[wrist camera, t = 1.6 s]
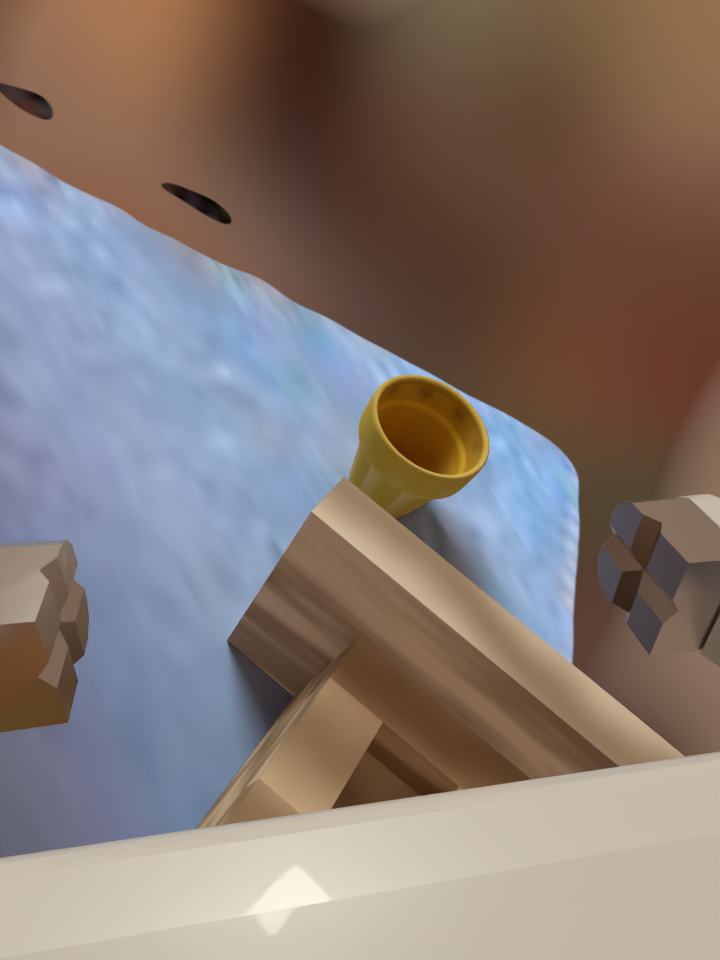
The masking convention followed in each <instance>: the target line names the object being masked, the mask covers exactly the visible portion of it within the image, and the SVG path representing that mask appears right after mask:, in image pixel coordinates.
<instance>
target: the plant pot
mask: <svg viewBox="0 0 720 960" xmlns="http://www.w3.org/2000/svg"><path fill="white" fill-rule="evenodd" d="M358 432H359V441H360V442H359V446H358V449H357V452H356V456H355V459H354V462H353V465H352V469H351V472H350V482H351V483H352V484H353V485H355V486H356V487H357V488H358V489H360V490H361V491H362V492H363V493H364V494H366V495H367V496H368V497H369V498H371V499H372V500H373V501H374V502H375V503H377V504H378V505H379V506H380V507H381V508H383V509H384V510H385V511H386V512H388V513H389V514H390V515H391V516H392V517H394V518H398V517H402V516H405V515H407V514H408V513H410V512H412V511H413V510H415V509H417V508H419V507H420V506H422V505H424V504H426V503H428V502H429V501H431V500H433V499H442V498H446V497H449V496H451V495H453V494H455V493H457V492H458V491H459V490H461V489H462V488H463V487H464V486H465V485H466V484H467V483H468V482H470V481H471V480H472V479H473V478H474V477H475V476H476V474H477V473H478V472H479V471H480V470H481V469H482V468H483V466H484V465H485V463H486V461H487V458H488V454H489V438H488V434H487V430H486V428H485V425H484V423H483V421H482V419H481V417H480V416H479V414H478V413H477V411H476V410H475V409H474V407H473V406H472V405H471V404H470V403H469V402H468V401H467V400H466V399H465V398H464V397H463V396H462V395H461V394H459V393H458V392H457V391H455V390H454V389H453V388H451V387H449V386H448V385H446V384H444V383H442V382H440V381H437V380H435V379H432V378H429V377H425V376H420V375H401V376H397V377H394V378H391V379H389V380H388V381H386V382H384V383H383V384H382V385H381V386H380V387H379V388H378V389H377V390H376V392H375V393H374V395H373V396H372V398H371V400H370V401H369V403H368V405H367V406H366V408H365V410H364V412H363V414H362V416H361V419H360V422H359V430H358Z"/></svg>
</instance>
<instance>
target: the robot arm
mask: <svg viewBox="0 0 720 960" xmlns="http://www.w3.org/2000/svg"><path fill="white" fill-rule="evenodd" d="M609 524H610V526H611V528H612V530H613V532H614V535H613V536H612V537H611V538H610V539H609V540H608V541H606V542H605V543H604V544H603V545H602V548H601V551H600V555H599V559H598V573H599V574H598V575H599V581H600V583H601V586H602V588H603V591H604V592H605V594H606V595H607V597H608V598H609V600H610V601H611V603H613V604H615V605H616V606H618V607H620V608H622V609H623V610H625V611H627V612H628V615H627V622H626V623H627V625H628V626H629V628H630V629H631V630H632V632H633V633H634V635H635V636H636V637H637V639H638V640H639V641H640V643H641V644H642V646H643V647H644V648H645V650H646V651H647V652H648V654H649V655H660V654H672V653H684V652H695V651H701V653H700V654H701V655H703V656H704V657H706V658H707V659H709V660H710V661H712V662H713V663H714V664H716V665H717V666H719V667H720V498H718V497H715V496H712V495H709V494H704V495H693V496H684V497H678V498H672V499H658V500H646V501H631V502H621V503H620V504H619V505H618V506H617V507H616V508H615V509H614V511H613V514H612V517H611V520H610V523H609ZM77 564H78V563H77V560H76V556H75V553H74V549H73V546H72V544H71V543H70V542H69V541H67V540H55V541H35V542H14V543H0V732H7V731H14V730H21V729H28V728H35V727H42V726H49V725H56V724H63V723H68V720H69V716H70V711H71V707H72V703H73V699H74V695H75V691H76V687H77V683H78V680H77V676H76V672H75V669H74V664H75V663H76V662H77V661H78V660H79V659H80V658H81V657H82V656H84V653H85V649H86V644H87V639H88V623H89V615H88V606H87V599H86V595H85V591H84V588H83V587H82V586H80V585H79V584H78V583H76V582H75V581H74V580H73V578H74V575H75V571H76V568H77ZM0 960H720V752H714V753H708V754H701V755H694V756H687V757H681V758H674V759H667V760H661V761H654V762H647V763H640V764H634V765H627V766H620V767H614V768H607V769H600V770H594V771H587V772H580V773H573V774H567V775H560V776H553V777H546V778H540V779H533V780H526V781H519V782H512V783H506V784H499V785H492V786H485V787H478V788H472V789H465V790H458V791H451V792H444V793H438V794H431V795H424V796H417V797H410V798H404V799H397V800H390V801H383V802H376V803H370V804H363V805H356V806H349V807H342V808H336V809H329V810H322V811H315V812H309V813H302V814H295V815H288V816H282V817H275V818H268V819H261V820H254V821H248V822H241V823H234V824H227V825H221V826H214V827H207V828H200V829H194V830H187V831H180V832H173V833H167V834H160V835H153V836H146V837H140V838H133V839H126V840H119V841H112V842H106V843H99V844H92V845H85V846H79V847H72V848H65V849H58V850H52V851H45V852H38V853H31V854H25V855H18V856H11V857H4V858H0Z"/></svg>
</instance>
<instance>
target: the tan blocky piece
mask: <svg viewBox="0 0 720 960" xmlns="http://www.w3.org/2000/svg"><path fill="white" fill-rule="evenodd" d="M227 641H229V642H230V643H231V644H232V645H233V646H234V647H236V648H237V649H238V650H239V651H240V652H242V653H243V654H244V655H245V656H246V657H247V658H249V659H250V660H251V661H252V662H253V663H254V664H256V665H257V666H258V667H259V668H260V669H261V670H263V671H264V672H265V673H266V674H267V675H269V676H270V677H271V678H272V679H273V680H274V681H276V682H277V683H278V684H279V685H280V686H281V687H283V688H284V689H285V690H286V691H287V692H288V693H290V694H291V695H292V696H293V698H292V699H291V700H290V702H289V703H288V704H287V706H286V707H285V709H284V710H283V711H282V713H281V714H280V715H279V717H278V718H277V719H276V721H275V722H274V724H273V725H272V726H271V728H270V729H269V730H268V732H267V733H266V734H265V736H264V737H263V738H262V740H261V741H260V743H259V744H258V745H257V747H256V748H255V749H254V751H253V752H252V753H251V755H250V756H249V758H248V759H247V760H246V762H245V763H244V764H243V766H242V767H241V768H240V770H239V771H238V772H237V774H236V775H235V777H234V778H233V779H232V781H231V782H230V783H229V785H228V786H227V787H226V789H225V790H224V791H223V793H222V794H221V796H220V797H219V798H218V800H217V801H216V802H215V804H214V805H213V806H212V808H211V809H210V811H209V812H208V813H207V815H206V816H205V817H204V819H203V820H202V821H201V823H200V824H199V825H198V827H197V828H196V829H200V828H207V827H214V826H221V825H227V824H234V823H241V822H248V821H254V820H261V819H268V818H275V817H282V816H288V815H295V814H302V813H309V812H315V811H322V810H329V809H336V808H342V807H349V806H356V805H363V804H370V803H376V802H383V801H390V800H397V799H404V798H410V797H417V796H424V795H431V794H438V793H444V792H451V791H458V790H465V789H472V788H478V787H485V786H492V785H499V784H506V783H512V782H519V781H526V780H533V779H540V778H546V777H553V776H560V775H567V774H573V773H580V772H587V771H594V770H600V769H607V768H614V767H620V766H627V765H634V764H640V763H647V762H654V761H661V760H667V759H674V758H681V757H685V756H683V755H682V754H681V753H680V752H679V751H677V750H676V749H675V748H674V747H672V746H671V745H670V744H669V743H668V742H666V741H665V740H664V739H662V737H660V736H659V735H658V734H656V733H655V732H654V731H653V730H651V729H650V728H649V727H648V726H647V725H646V724H644V723H643V722H642V721H641V720H640V719H638V718H637V717H636V716H635V715H633V714H632V713H631V712H630V711H629V710H627V709H626V708H625V707H624V706H623V705H621V704H620V703H619V702H618V701H616V700H615V699H614V698H613V697H612V696H610V695H609V694H608V693H607V692H606V691H604V690H603V689H602V688H601V687H599V686H598V685H597V684H596V683H595V682H593V681H592V680H591V679H590V678H588V677H587V676H586V675H585V674H584V673H582V672H581V671H580V670H579V669H578V668H576V667H575V666H574V665H573V664H571V663H570V662H569V661H568V660H567V659H565V658H564V657H563V656H562V655H560V654H559V653H558V652H557V651H556V650H554V649H553V648H552V647H551V646H550V645H548V644H547V643H546V642H545V641H543V640H542V639H541V638H540V637H539V636H537V635H536V634H535V633H534V632H532V631H531V630H530V629H529V628H528V627H526V626H525V625H524V624H523V623H521V622H520V621H519V620H518V619H517V618H515V617H514V616H513V615H512V614H511V613H509V612H508V611H507V610H506V609H504V608H503V607H502V606H501V605H500V604H498V603H497V602H496V601H495V600H493V599H492V598H491V597H490V596H489V595H487V594H486V593H485V592H484V591H483V590H481V589H480V588H479V587H478V586H476V585H475V584H474V583H473V582H472V581H470V580H469V579H468V578H467V577H465V576H464V575H463V574H462V573H461V572H459V571H458V570H457V569H456V568H455V567H453V566H452V565H451V564H450V563H448V562H447V561H446V560H445V559H444V558H442V557H441V556H440V555H439V554H437V553H436V552H435V551H434V550H433V549H431V548H430V547H429V546H428V545H427V544H425V543H424V542H423V541H422V540H420V539H419V538H418V537H417V536H416V535H414V534H413V533H412V532H411V531H409V530H408V529H407V528H406V527H405V526H403V525H402V524H401V523H400V522H399V521H397V520H396V519H395V518H394V517H392V516H391V515H390V514H389V513H388V512H386V511H385V510H384V509H383V508H381V507H380V506H379V505H378V504H377V503H375V502H374V501H373V500H372V499H371V498H369V497H368V496H367V495H366V494H364V493H363V492H362V491H361V490H360V489H358V488H357V487H356V486H355V485H353V484H352V483H351V482H350V481H349V480H347V479H346V478H345V477H343V478H342V480H341V481H340V482H339V483H338V484H337V485H336V486H335V487H334V488H333V489H332V490H331V491H330V492H329V493H328V494H327V495H326V497H325V498H324V499H323V500H322V501H321V502H320V503H319V504H318V505H317V506H316V507H315V508H314V509H313V510H312V511H311V513H310V514H309V516H308V518H307V519H306V521H305V522H304V524H303V525H302V527H301V528H300V530H299V531H298V533H297V534H296V536H295V537H294V539H293V540H292V542H291V543H290V545H289V547H288V548H287V550H286V551H285V553H284V554H283V556H282V557H281V559H280V560H279V562H278V563H277V565H276V566H275V568H274V569H273V571H272V573H271V574H270V576H269V577H268V579H267V580H266V582H265V583H264V585H263V586H262V588H261V589H260V591H259V592H258V594H257V595H256V597H255V598H254V600H253V602H252V603H251V605H250V606H249V608H248V609H247V611H246V612H245V614H244V615H243V617H242V618H241V620H240V621H239V623H238V624H237V626H236V628H235V629H234V631H233V632H232V634H231V635H230V637H229V638H228V640H227Z"/></svg>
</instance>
